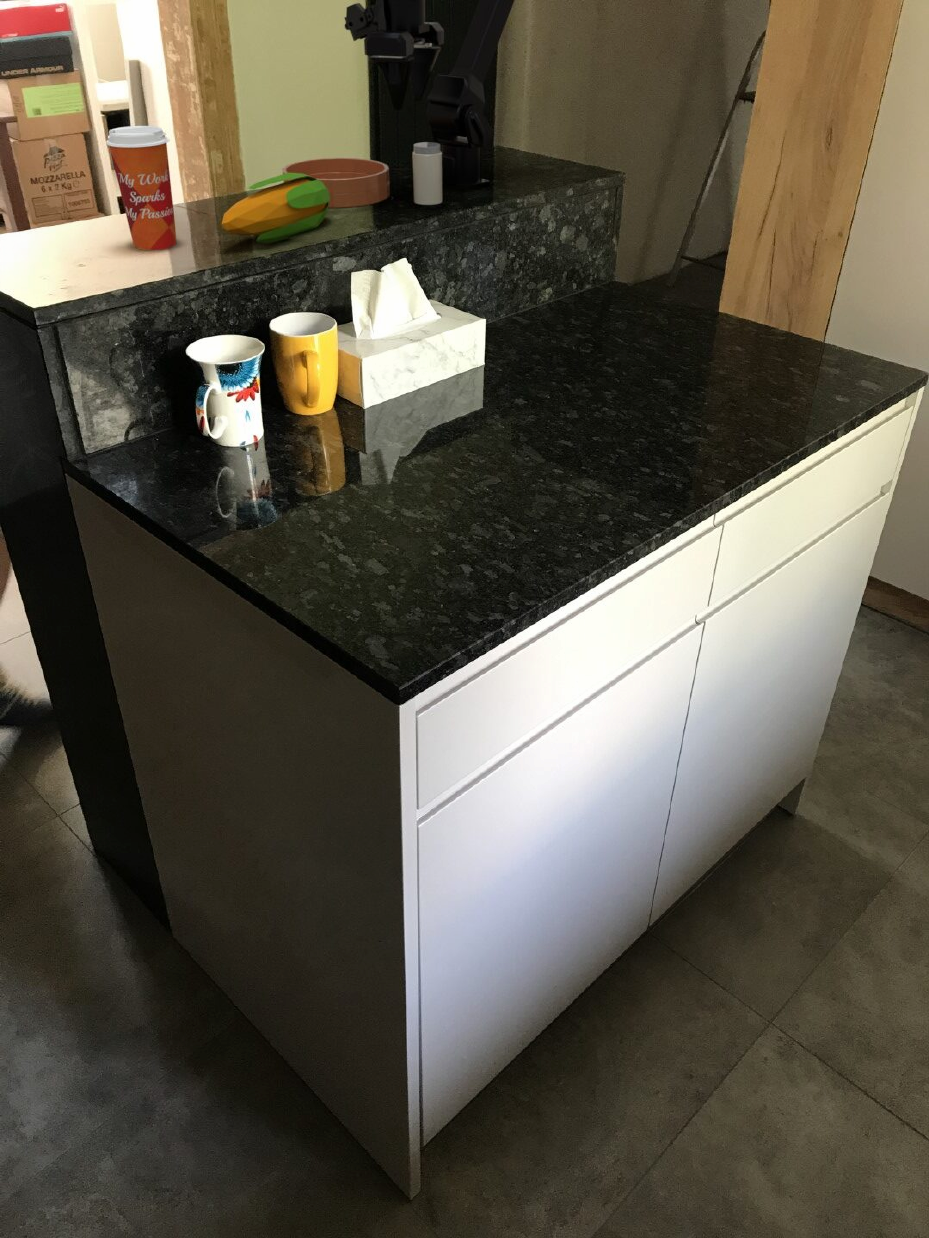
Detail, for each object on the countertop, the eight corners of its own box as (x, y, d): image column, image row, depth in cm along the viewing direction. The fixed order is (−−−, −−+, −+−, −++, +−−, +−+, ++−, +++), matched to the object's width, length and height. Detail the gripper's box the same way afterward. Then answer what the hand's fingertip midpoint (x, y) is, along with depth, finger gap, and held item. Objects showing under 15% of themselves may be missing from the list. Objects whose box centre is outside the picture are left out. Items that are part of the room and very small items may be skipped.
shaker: (428, 200, 155) (427, 141, 150) (448, 205, 152) (448, 144, 147) (407, 205, 152) (406, 144, 147) (428, 210, 150) (427, 148, 145)
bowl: (342, 183, 165) (340, 153, 162) (411, 199, 156) (410, 168, 153) (264, 200, 155) (260, 169, 152) (332, 217, 146) (329, 185, 143)
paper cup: (126, 254, 130) (103, 137, 122) (125, 239, 136) (104, 126, 128) (187, 249, 132) (169, 134, 124) (183, 235, 138) (166, 123, 130)
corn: (340, 166, 138) (240, 193, 124) (347, 224, 142) (251, 256, 129) (300, 164, 142) (198, 190, 128) (308, 220, 146) (210, 252, 132)
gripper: (373, -22, 149) (378, 94, 158) (325, -16, 135) (334, 112, 144) (444, -21, 147) (445, 97, 156) (403, -14, 132) (406, 116, 141)
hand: (407, 105), depth 149 cm, fingers open, 9 cm apart
